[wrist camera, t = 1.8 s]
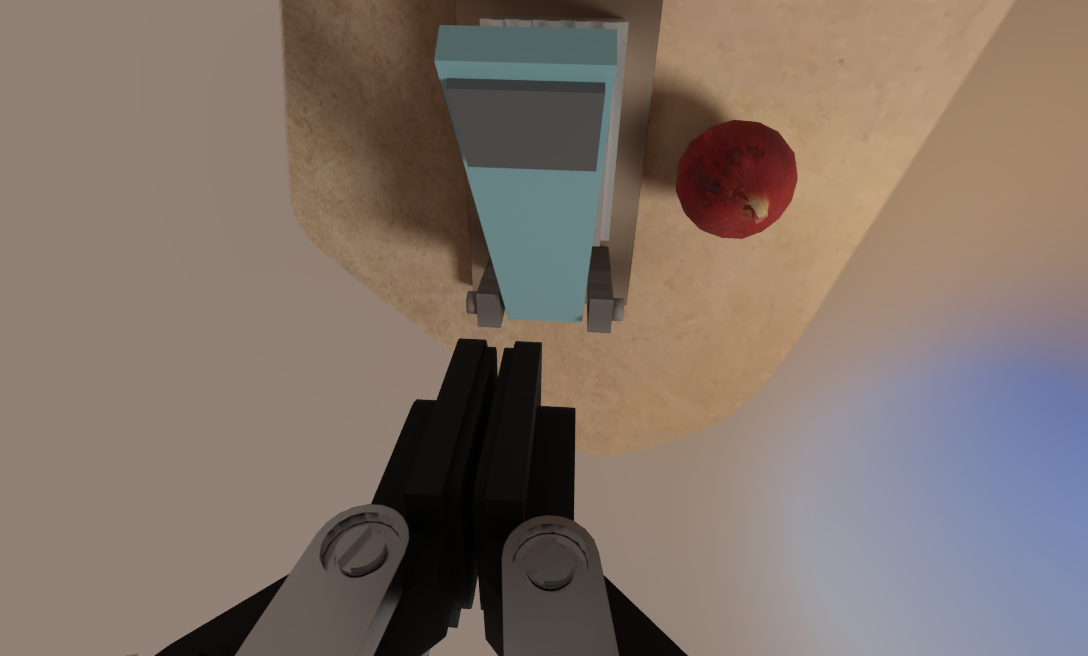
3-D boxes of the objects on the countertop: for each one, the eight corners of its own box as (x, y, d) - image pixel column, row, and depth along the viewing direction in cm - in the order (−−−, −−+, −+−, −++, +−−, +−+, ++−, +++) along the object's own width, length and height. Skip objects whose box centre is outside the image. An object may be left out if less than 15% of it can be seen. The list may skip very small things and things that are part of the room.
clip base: (451, -171, 23) (382, -256, 15) (678, -169, 23) (729, -255, 15) (477, 287, 36) (446, 372, 28) (624, 294, 35) (637, 382, 27)
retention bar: (439, 24, 12) (432, 71, 11) (617, 29, 12) (616, 76, 11) (509, 301, 29) (508, 324, 29) (582, 305, 29) (581, 327, 28)
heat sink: (492, 15, 26) (476, 19, 22) (623, 18, 25) (630, 22, 22) (498, 211, 31) (486, 241, 27) (606, 215, 31) (609, 246, 27)
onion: (649, 186, 31) (667, 239, 25) (702, 89, 28) (739, 119, 22) (733, 224, 32) (773, 285, 25) (793, 134, 29) (855, 176, 22)
